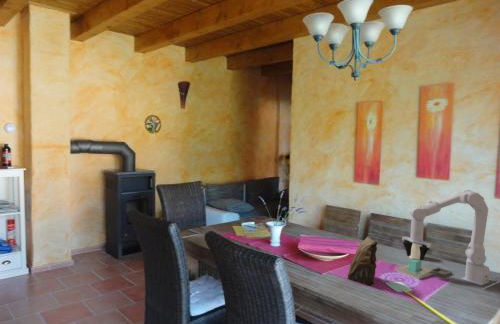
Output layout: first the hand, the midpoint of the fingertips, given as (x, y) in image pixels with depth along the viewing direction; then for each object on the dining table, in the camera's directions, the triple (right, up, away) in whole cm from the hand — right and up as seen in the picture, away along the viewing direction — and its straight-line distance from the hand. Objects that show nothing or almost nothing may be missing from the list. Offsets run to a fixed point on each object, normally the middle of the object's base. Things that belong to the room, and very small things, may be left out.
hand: (415, 257), depth 183 cm
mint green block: (0, -8, +1) cm, 8 cm away
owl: (-30, -8, -9) cm, 32 cm away
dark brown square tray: (+14, -9, +2) cm, 16 cm away
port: (0, -8, +1) cm, 8 cm away
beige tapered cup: (+12, -7, +26) cm, 29 cm away
